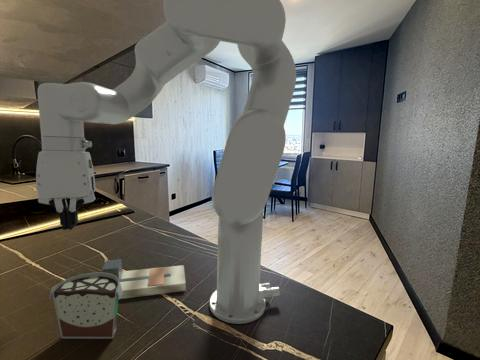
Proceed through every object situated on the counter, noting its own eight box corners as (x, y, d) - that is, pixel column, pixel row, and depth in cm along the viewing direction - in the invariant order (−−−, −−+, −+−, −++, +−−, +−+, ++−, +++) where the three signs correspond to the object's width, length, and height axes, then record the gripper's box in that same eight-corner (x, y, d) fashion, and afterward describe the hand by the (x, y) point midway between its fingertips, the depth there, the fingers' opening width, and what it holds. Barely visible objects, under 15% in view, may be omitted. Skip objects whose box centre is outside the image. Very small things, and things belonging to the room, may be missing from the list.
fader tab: (122, 273, 64) (121, 259, 63) (119, 283, 59) (118, 267, 59) (107, 275, 63) (106, 260, 62) (102, 285, 59) (101, 269, 58)
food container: (134, 315, 53) (132, 271, 51) (121, 338, 47) (119, 289, 45) (73, 315, 52) (70, 270, 51) (53, 338, 46) (48, 288, 45)
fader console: (183, 271, 70) (183, 264, 70) (185, 290, 62) (185, 282, 61) (95, 281, 64) (95, 273, 64) (84, 303, 56) (83, 294, 56)
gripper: (106, 146, 59) (110, 220, 62) (31, 143, 55) (38, 223, 58) (98, 147, 52) (102, 231, 55) (11, 144, 48) (20, 236, 51)
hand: (69, 227), depth 57 cm, fingers closed
